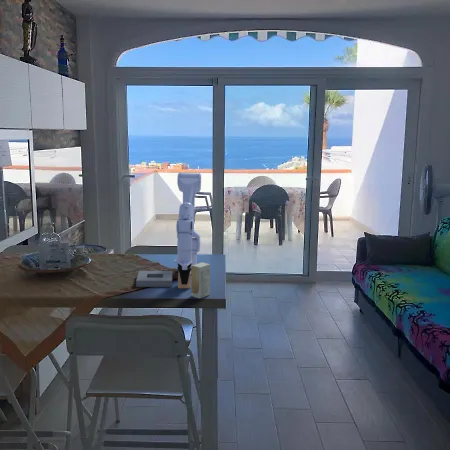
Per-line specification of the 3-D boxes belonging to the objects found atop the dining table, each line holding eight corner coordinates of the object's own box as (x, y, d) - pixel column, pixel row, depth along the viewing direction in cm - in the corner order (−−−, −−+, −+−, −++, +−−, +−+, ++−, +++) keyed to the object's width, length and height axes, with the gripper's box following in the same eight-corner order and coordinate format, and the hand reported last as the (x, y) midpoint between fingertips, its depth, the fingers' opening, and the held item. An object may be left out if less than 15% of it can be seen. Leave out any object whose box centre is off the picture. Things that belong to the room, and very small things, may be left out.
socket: (139, 276, 205) (139, 270, 204) (172, 276, 206) (172, 270, 206) (136, 286, 191) (136, 280, 191) (171, 286, 192) (171, 280, 192)
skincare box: (201, 292, 186) (202, 261, 184) (210, 294, 184) (211, 263, 182) (190, 296, 182) (190, 264, 179) (198, 299, 179) (199, 267, 177)
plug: (178, 285, 195) (178, 266, 193) (190, 285, 195) (190, 267, 194) (178, 288, 191) (178, 269, 189) (190, 288, 191) (190, 269, 190)
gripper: (174, 245, 197) (174, 277, 199) (174, 253, 183) (174, 288, 185) (192, 245, 197) (191, 277, 200) (193, 253, 183) (192, 288, 186)
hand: (184, 282), depth 193 cm, fingers closed on plug, 4 cm apart
